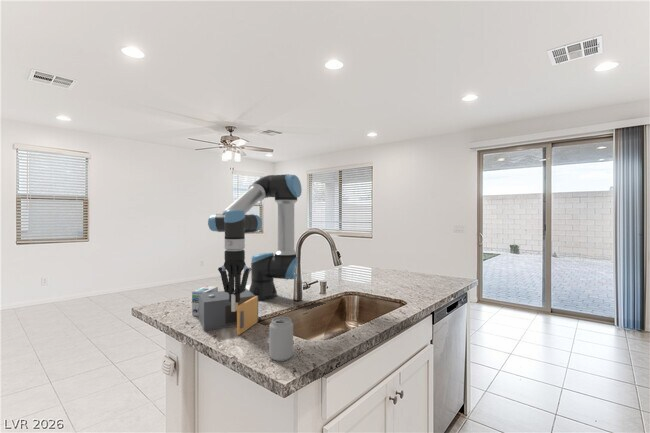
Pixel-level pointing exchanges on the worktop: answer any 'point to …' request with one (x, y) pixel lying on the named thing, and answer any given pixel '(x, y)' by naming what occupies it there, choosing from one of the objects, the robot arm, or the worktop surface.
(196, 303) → the light bulb box
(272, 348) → the can
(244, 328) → the orange cabinet door
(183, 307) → the worktop surface
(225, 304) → the grey microwave
